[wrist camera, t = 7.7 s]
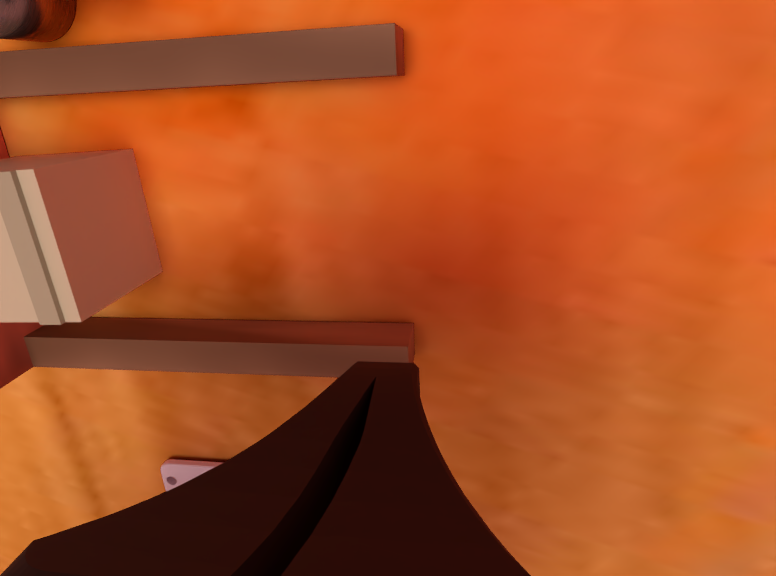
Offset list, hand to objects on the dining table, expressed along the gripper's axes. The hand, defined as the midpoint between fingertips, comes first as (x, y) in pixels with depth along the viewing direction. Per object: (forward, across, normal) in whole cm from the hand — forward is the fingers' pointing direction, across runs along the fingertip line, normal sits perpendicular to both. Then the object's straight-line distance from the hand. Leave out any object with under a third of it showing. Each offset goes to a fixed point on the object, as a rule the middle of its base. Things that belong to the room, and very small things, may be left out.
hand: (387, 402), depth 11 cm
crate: (+10, +14, -2) cm, 17 cm away
